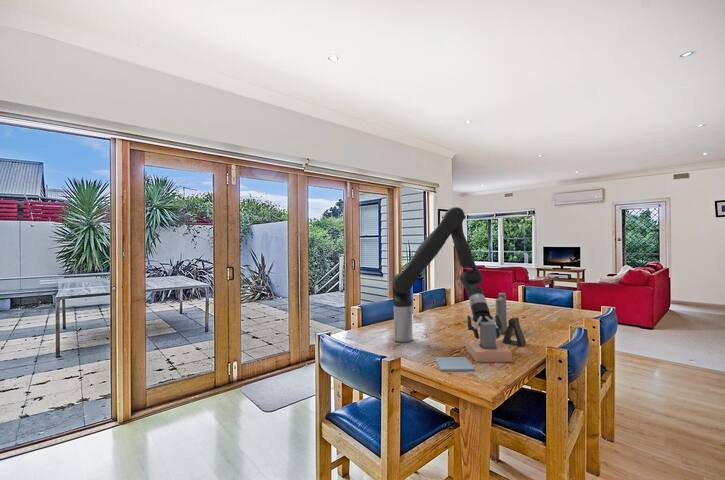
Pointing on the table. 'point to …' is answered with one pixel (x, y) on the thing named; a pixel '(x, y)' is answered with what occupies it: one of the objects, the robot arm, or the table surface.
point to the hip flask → (501, 311)
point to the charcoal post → (487, 335)
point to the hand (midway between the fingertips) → (488, 337)
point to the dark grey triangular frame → (518, 332)
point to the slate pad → (454, 364)
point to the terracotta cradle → (489, 352)
